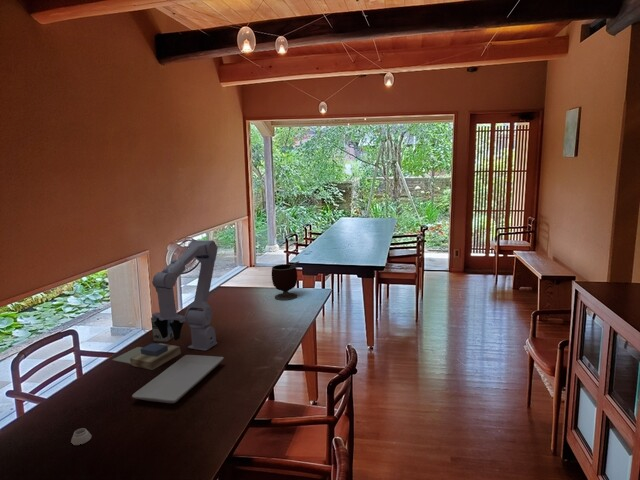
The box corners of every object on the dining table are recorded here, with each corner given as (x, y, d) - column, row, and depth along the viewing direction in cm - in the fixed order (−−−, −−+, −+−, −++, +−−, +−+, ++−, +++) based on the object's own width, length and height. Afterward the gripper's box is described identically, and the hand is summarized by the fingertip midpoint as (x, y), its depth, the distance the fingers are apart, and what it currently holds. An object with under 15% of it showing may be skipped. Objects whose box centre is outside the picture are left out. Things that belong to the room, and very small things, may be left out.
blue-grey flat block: (167, 350, 178) (167, 345, 178) (156, 356, 173) (155, 351, 172) (152, 347, 182) (152, 343, 181) (141, 353, 176) (140, 349, 176)
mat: (157, 350, 186) (157, 350, 186) (132, 364, 174) (132, 363, 174) (137, 347, 191) (137, 346, 191) (111, 360, 179) (111, 359, 179)
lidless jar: (86, 445, 125) (94, 434, 130) (84, 435, 124) (93, 425, 129) (68, 447, 124) (76, 436, 129) (66, 437, 124) (75, 426, 129)
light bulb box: (167, 342, 195) (164, 318, 193) (153, 341, 196) (150, 317, 194) (179, 332, 205) (176, 309, 203) (166, 332, 206) (163, 309, 205)
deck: (180, 353, 182) (179, 346, 181) (152, 370, 169) (151, 362, 168) (160, 350, 187) (159, 343, 186) (131, 365, 173) (130, 358, 173)
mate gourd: (270, 301, 243) (267, 264, 240) (277, 293, 257) (274, 258, 253) (298, 301, 241) (296, 264, 237) (303, 293, 254) (301, 258, 251)
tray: (131, 405, 145) (129, 395, 144) (186, 362, 175) (185, 353, 174) (176, 410, 140) (175, 400, 139) (225, 365, 170) (225, 356, 169)
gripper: (144, 305, 169) (148, 339, 171) (174, 309, 163) (178, 344, 165) (158, 299, 175) (162, 333, 178) (187, 303, 169) (191, 337, 171)
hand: (171, 338), depth 172 cm, fingers open, 5 cm apart
